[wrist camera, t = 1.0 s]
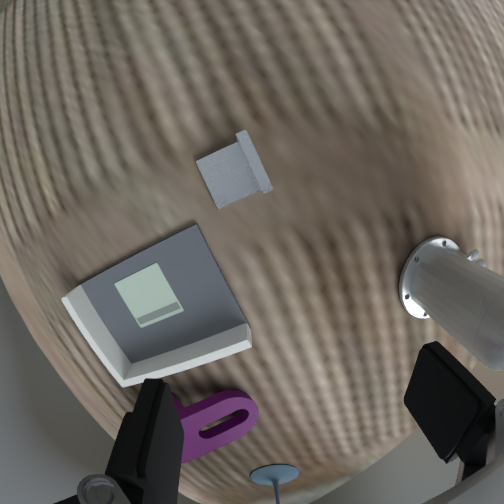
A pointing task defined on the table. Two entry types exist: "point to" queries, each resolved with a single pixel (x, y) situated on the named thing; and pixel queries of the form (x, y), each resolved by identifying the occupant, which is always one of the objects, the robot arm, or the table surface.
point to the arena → (160, 311)
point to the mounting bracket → (210, 412)
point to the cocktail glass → (274, 476)
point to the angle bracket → (234, 172)
